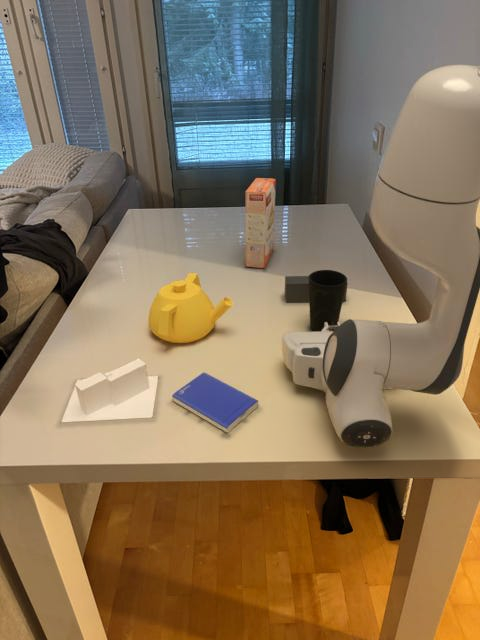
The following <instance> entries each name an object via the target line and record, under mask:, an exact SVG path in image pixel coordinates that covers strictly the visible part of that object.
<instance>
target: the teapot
mask: <svg viewBox="0 0 480 640" xmlns="http://www.w3.org/2000/svg"><path fill="white" fill-rule="evenodd" d="M155 295H156V296H155V297H154V299H153V301H152V302H151V305H150V307H149V313H148V327H149V329H150V331H151V332H152V333H153V334H154V335H155V336H156V337H158V338H159V339H161V340H163V341H165V342H166V343H167V342H168V343H172V344H188V343H193V342H197V341H199V340H201V339H203V338H204V337H206V336H207V335H208V334H209V333H210V332H211V331H212V329H214V327H215V325H216V323H217V321H218V320H219V319H220V318H222V316H223V315H224V314H225V313H226V312H227V311H228V310H229V309H231V308H232V307H233V306H234V303H233V300H232V299H231V298H229V297H226V296H225V297H223V298H222V299H221V300H220V301H219V302H218V303H217V305H216V306H214V305H213V302H212V300H211V298H209V296H208V295H207V293H206V292H205V291H204V290H203V289H202V286H201V282H200V278H199V273H194V272H189V273H188V275H187V276H186V277H185V279H184V280H183V279H180V280H174V281H173V282H170V283H167V284H165V285H163V286H162V287H161V288H160V289H159V290H158V292H157V293H156V294H155Z"/></svg>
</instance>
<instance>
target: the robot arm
mask: <svg viewBox="0 0 480 640" xmlns="http://www.w3.org/2000/svg"><path fill="white" fill-rule="evenodd" d="M479 203H480V65H469V64H449V65H445V66H440V67H437V68H435V69H432V70H430V71H427V72H426V73H424V74H423V75H421V76H420V77H419V78H418V79H417V80H416V81H415V83H414V84H412V87H411V88H410V90H409V92H408V94H407V95H406V98H405V100H404V102H403V104H402V106H401V108H400V111H399V113H398V114H397V116H396V119H395V122H394V124H393V126H392V129H391V132H390V134H389V136H388V139H387V142H386V145H385V147H384V150H383V154H382V157H381V160H380V163H379V166H378V170H377V173H376V177H375V180H374V185H373V188H372V193H371V200H370V207H369V217H370V222H371V225H372V227H373V230H374V232H375V233H376V235H377V237H378V238H379V239H380V241H381V242H382V243H383V244H384V245H385V246H386V247H387V248H388V249H389V250H390V251H391V252H393V253H394V254H395V255H397V256H399V257H400V258H401V259H403V260H404V261H407V262H409V263H411V264H414V265H416V266H418V267H420V268H423V269H425V270H427V271H429V272H430V273H432V274H434V275H435V276H437V277H438V278H437V282H436V287H435V293H434V298H433V302H432V307H431V311H430V316H429V317H428V319H426V320H423V321H421V322H416V323H407V322H405V323H404V322H394V321H393V322H391V321H381V320H368V319H352V318H351V319H350V318H349V319H346V320H345V321H343V322H342V323H341V322H340V321H338V322H325V323H324V328H323V329H322V331H319V332H312V331H286V332H284V333H283V334H282V336H281V353H282V358H283V361H284V363H285V365H286V368H287V369H288V370H289V371H290V372H292V380H293V381H292V382H293V383H294V384H295V385H298V386H304V387H309V388H313V389H316V390H320V391H322V392H324V393H325V403H326V408H327V412H328V415H329V417H330V421H331V424H332V426H333V428H334V431H335V433H336V435H337V436H338V438H339V440H340V441H341V442H342V443H343V444H345V445H347V446H348V447H353V448H359V449H360V448H362V449H363V448H365V449H367V448H368V449H369V448H370V449H371V448H375V447H378V446H381V445H382V444H384V443H386V442H387V441H388V440H389V439H390V438H391V437H392V434H393V420H392V416H391V415H392V414H391V411H390V408H389V404H388V401H387V397H386V395H385V392H384V390H399V391H411V392H414V393H421V394H427V395H434V396H435V395H441V394H442V393H443V392H446V391H447V390H448V389H449V388H450V387H451V386H453V385H454V384H455V382H457V380H458V379H459V377H460V375H461V372H462V369H463V363H464V362H463V361H464V354H465V353H464V352H465V344H466V339H467V337H468V332H469V330H470V329H469V328H470V325H471V322H472V319H473V315H474V312H475V308H476V304H477V301H478V298H479V297H478V296H479V294H480V227H479V226H477V211H478V207H479Z"/></svg>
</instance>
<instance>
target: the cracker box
mask: <svg viewBox="0 0 480 640" xmlns="http://www.w3.org/2000/svg"><path fill="white" fill-rule="evenodd" d="M276 184H277V179H276V178H270V177H269V178H267V177H265V178H264V177H255V179H254V180H253V181H252V183H251V184H250V185H249V186H248V188H247V189H246V190H245V197H244V198H245V203H244V205H245V208H244V209H245V214H244V215H245V217H244V219H245V221H244V222H245V223H244V224H245V229H244V230H245V234H244V235H245V238H244V240H245V242H244V244H245V245H244V246H245V247H244V248H245V251H244V252H245V253H244V254H245V255H244V256H245V257H244V259H245V260H244V261H245V262H244V263H245V268H252V269H253V268H254V269H266V267H267V265H268V263H269V260H270V258H271V256H272V253H273V251H274V238H275V214H276V213H275V211H276V210H275V209H276V186H277V185H276Z"/></svg>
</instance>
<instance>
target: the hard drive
mask: <svg viewBox="0 0 480 640" xmlns="http://www.w3.org/2000/svg"><path fill="white" fill-rule="evenodd" d="M171 400H172V401H173V402H174V403H176V404H178V405H179V406H181V407H183V408H185V409H186V410H187V411H190V412H191V413H193V414H194V415H196V416H198V417H200V418H201V419H203V420H204V421H206V422H207V423H210V424H212V425H213V426H214V427H216V428H219V430H222V431H223V432H225V433H227V434H228V433H229V432H231V431H232V430H233V429H234V428H235V427H236V426H237V425H238V424H240V423H241V422H242V421H243V420H244V419H246V418H247V417H248V416H249V415H250V414H251V413H252V412H254V411H255V410H256V409H257V408H258V407H259V400H258V399H256V398H254V397H252V396H250V395H249V394H247V393H244V392H242V391H241V390H239V389H237V388H235V387H233V386H231V385H229V384H228V383H226V382H224V381H222V380H220V379H219V378H218V379H217V378H216V377H214V376H212V375H210V374H209V373H207V372H202V373H200V374H199V375H198V376H196V377H195V378H194V379H192V380H191V381H189V382H188V383H186V384H185V385H183V386H182V387H180V388H179V389H177V391H175V392H174V393H173V394H172V395H171Z"/></svg>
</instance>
